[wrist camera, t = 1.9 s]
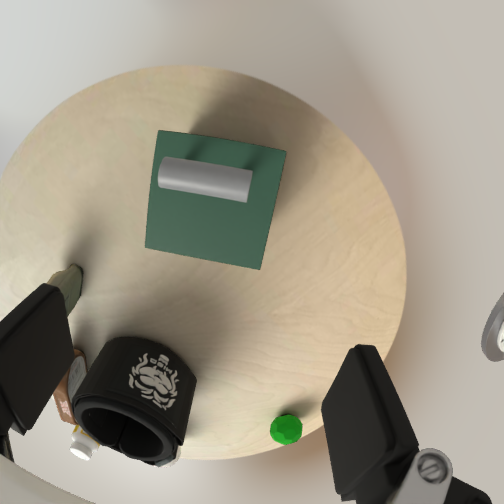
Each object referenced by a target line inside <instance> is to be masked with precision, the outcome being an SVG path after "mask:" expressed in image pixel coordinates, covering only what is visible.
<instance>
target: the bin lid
mask: <svg viewBox="0 0 504 504" xmlns="http://www.w3.org/2000/svg"><path fill="white" fill-rule="evenodd" d="M285 157H286V151H284V150H279V149H275V148H270V147H265V146H260V145H255V144H250V143H245V142H239V141H234V140H228V139H222V138H215V137H209V136H202V135H195V134H188V133H180V132H172V131H163V130H158V135H157V141H156V147H155V154H154V161H153V168H152V176H151V184H150V193H149V203H148V213H147V225H146V239H145V248H149V249H154V250H159V251H164V252H169V253H174V254H179V255H184V256H189V257H194V258H200V259H205V260H210V261H215V262H220V263H226V264H231V265H236V266H241V267H247V268H252V269H257V270H260V268H261V264H262V259H263V255H264V251H265V246H266V242H267V238H268V233H269V229H270V224H271V220H272V215H273V211H274V207H275V202H276V198H277V193H278V189H279V184H280V180H281V175H282V170H283V166H284V161H285Z"/></svg>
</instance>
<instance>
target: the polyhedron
mask: <svg viewBox="0 0 504 504" xmlns="http://www.w3.org/2000/svg"><path fill="white" fill-rule="evenodd" d="M270 435H271V436H272V438H273V440H274V441H276V442H278V443H281V444H284V445H287V444H291V443H294V442H297V440H298V439H299V438H300V437H301V435H302V423H301V421H300V420H299V419H298V418H297V417H295V416H292V415H289V414H288V415H284V416H281V417H277V418H276V419H275V420H274V421H273V422H272V424H271V428H270Z"/></svg>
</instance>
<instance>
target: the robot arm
mask: <svg viewBox="0 0 504 504" xmlns="http://www.w3.org/2000/svg"><path fill="white" fill-rule="evenodd" d="M497 345H498V347H499V349H500V350H501V351H503V352H504V321H503V323H502V325H501V328H500V330H499V334H498V339H497ZM74 357H75V353H74V348H73V344H72V339H71V334H70V329H69V324H68V318H67V313H66V306H65V300H64V295H63V293H61V290H60V289H59V288H58V287H56V286H53V285H50V284H47V283H43V284H41V285H40V286H39V287H38V288H37V289H36V290H35V291H33V292H32V293H31V294H30V295H29V296H28V297H27V298H25V299H24V300H23V301H22V302H21V303H20V304H19V305H18V306H17V307H15V308H14V309H13V310H12V311H11V312H10V313H9V314H8V315H7V316H6V317H5V318H4V319H3V320H2V321H1V322H0V504H95V503H92V502H90V501H87V500H85V499H83V498H80V497H78V496H76V495H73V494H71V493H69V492H66V491H64V490H62V489H60V488H58V487H56V486H54V485H52V484H50V483H48V482H46V481H44V480H43V479H41V478H39V477H37V476H35V475H33V474H32V473H30V472H28V471H26V470H25V469H23V468H21V467H20V466H18V465H16V464H15V463H14V459H13V455H12V450H11V446H10V441H9V435H8V431H9V429H10V427H11V428H12V429H13V430H15V431H17V432H18V433H20V434H21V435H23V436H24V435H25V433H26V431H27V430H30V429H32V427H33V426H34V424H35V422H36V420H37V419H38V417H39V415H40V414H41V412H42V410H43V408H44V407H45V406H46V404H47V402H48V401H49V399H50V397H51V396H52V394H53V393H54V391H55V389H56V388H57V386H58V385H59V383H60V382H61V380H62V378H63V377H64V375H65V374H66V372H67V371H68V369H69V368H70V366H71V365H72V363H73V361H74ZM321 412H322V417H323V422H324V428H325V433H326V438H327V443H328V449H329V455H330V461H331V466H332V472H333V478H334V483H335V490H336V492H337V494H341V500H342V501H350V500H356V504H492V502H491V500H490V498H489V496H488V495H487V494H486V493H484V492H483V491H481V490H479V489H477V488H474V487H473V486H471V485H469V484H467V483H465V482H463V481H461V480H459V479H457V478H455V477H453V476H452V473H453V468H452V463H451V462H450V460H449V458H448V457H447V456H446V455H445V454H444V453H443V452H441V451H440V450H437V449H433V448H427V449H423V450H421V451H419V448H418V446H419V443H418V441H417V439H416V436H415V433H414V431H413V429H412V426H411V424H410V421H409V419H408V417H407V415H406V412H405V410H404V408H403V405H402V403H401V401H400V398H399V396H398V394H397V392H396V389H395V387H394V385H393V383H392V381H391V379H390V376H389V374H388V372H387V370H386V368H385V366H384V364H383V362H382V359H381V357H380V355H379V353H378V351H377V349H376V347H375V346H373V345H361V344H358V345H356V346H355V347H354V348H351V349H350V350H349V351H348V353H347V356H346V358H345V360H344V362H343V364H342V366H341V368H340V370H339V372H338V374H337V376H336V378H335V380H334V382H333V384H332V385H331V387H330V389H329V391H328V393H327V395H326V397H325V398H324V400H323V402H322V407H321Z"/></svg>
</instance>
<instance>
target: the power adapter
mask: <svg viewBox="0 0 504 504" xmlns="http://www.w3.org/2000/svg"><path fill="white" fill-rule="evenodd" d="M82 281H83V270H82V268H81V267H79V266H78V265H76V264H71V266H70V268H69V269H67V270H64V271H59V272H56V273H55V274H53V275H52V277H51V278H50V280H49V281H48V282H47V284H50V285H53V286H56V287H58V288H59V289H60V290H61V293H63V295H64V300H65V306H66V313H67V317H68V316H69V314H70V313H71V311H72V310H73V308H74V307H75V305H76V303H77V301H78V299H79V298H80V296H81V289H82Z"/></svg>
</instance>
